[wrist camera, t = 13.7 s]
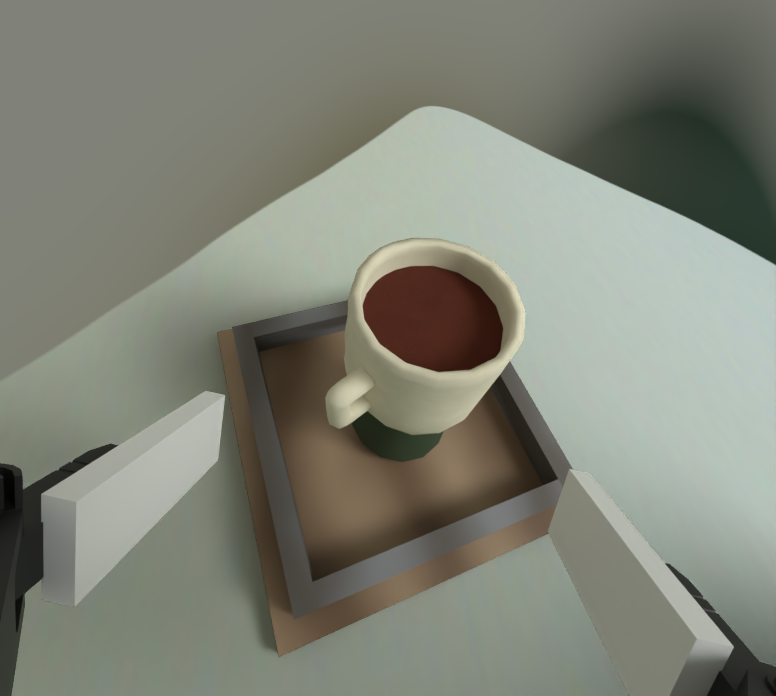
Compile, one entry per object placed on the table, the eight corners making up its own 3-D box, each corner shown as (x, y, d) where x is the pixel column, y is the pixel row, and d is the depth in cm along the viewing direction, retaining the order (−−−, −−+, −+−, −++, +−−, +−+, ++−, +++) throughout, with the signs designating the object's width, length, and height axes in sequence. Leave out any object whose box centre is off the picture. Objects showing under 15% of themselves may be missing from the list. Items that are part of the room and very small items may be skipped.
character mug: (419, 340, 30) (466, 197, 18) (488, 408, 27) (589, 293, 16) (299, 427, 25) (266, 309, 14) (369, 517, 23) (395, 461, 12)
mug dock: (457, 283, 34) (466, 259, 32) (588, 513, 25) (616, 506, 23) (220, 339, 29) (208, 316, 26) (281, 653, 20) (272, 665, 18)
